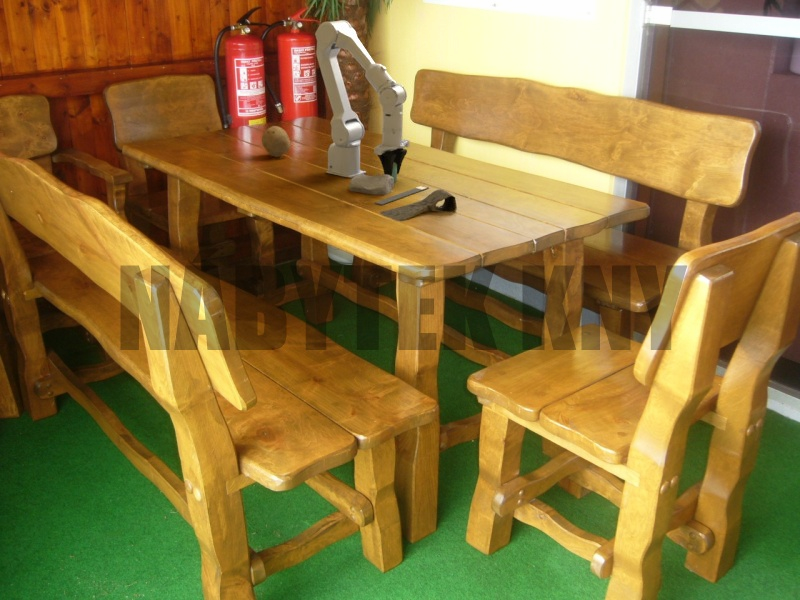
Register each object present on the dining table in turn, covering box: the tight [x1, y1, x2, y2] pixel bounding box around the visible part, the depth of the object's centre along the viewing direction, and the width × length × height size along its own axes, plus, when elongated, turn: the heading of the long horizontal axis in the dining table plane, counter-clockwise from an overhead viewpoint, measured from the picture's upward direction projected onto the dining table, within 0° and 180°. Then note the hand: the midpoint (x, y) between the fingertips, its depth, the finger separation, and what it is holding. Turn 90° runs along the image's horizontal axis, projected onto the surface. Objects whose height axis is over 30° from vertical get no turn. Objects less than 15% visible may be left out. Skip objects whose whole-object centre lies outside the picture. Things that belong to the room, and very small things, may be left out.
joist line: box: [374, 185, 430, 206], centre depth 228 cm, size 2×22×1 cm, turn 144°
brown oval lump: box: [261, 125, 291, 158], centre depth 266 cm, size 9×9×10 cm
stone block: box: [348, 173, 395, 196], centre depth 233 cm, size 12×5×10 cm
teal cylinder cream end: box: [392, 162, 398, 183], centre depth 242 cm, size 3×3×5 cm
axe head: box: [379, 188, 458, 222], centre depth 213 cm, size 21×5×10 cm
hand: (391, 174), depth 242 cm, fingers open, 3 cm apart
